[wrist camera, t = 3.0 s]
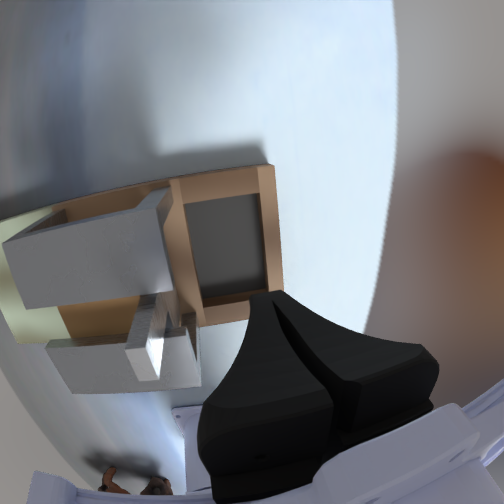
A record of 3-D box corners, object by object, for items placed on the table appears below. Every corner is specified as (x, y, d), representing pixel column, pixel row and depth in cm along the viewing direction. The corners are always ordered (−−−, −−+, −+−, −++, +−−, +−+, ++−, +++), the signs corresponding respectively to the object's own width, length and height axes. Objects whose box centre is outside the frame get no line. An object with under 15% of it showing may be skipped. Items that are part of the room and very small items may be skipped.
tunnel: (199, 323, 20) (201, 386, 14) (94, 336, 19) (72, 393, 13) (171, 185, 16) (155, 208, 11) (52, 211, 15) (1, 243, 10)
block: (162, 300, 18) (155, 342, 14) (96, 309, 18) (76, 349, 14) (144, 227, 17) (128, 255, 13) (73, 241, 16) (43, 270, 12)
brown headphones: (153, 492, 33) (127, 522, 25) (115, 452, 33) (82, 480, 26) (202, 492, 29) (173, 533, 21) (156, 447, 29) (118, 486, 21)
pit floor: (265, 286, 21) (266, 288, 21) (202, 296, 20) (202, 298, 20) (255, 188, 18) (256, 189, 18) (184, 199, 18) (183, 200, 18)
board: (279, 301, 22) (285, 312, 20) (24, 333, 19) (17, 343, 18) (268, 163, 18) (274, 165, 17) (-17, 226, 15) (-27, 232, 14)
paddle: (180, 307, 18) (175, 414, 11) (168, 308, 18) (157, 415, 10) (160, 217, 16) (125, 291, 8) (146, 220, 16) (102, 294, 8)
